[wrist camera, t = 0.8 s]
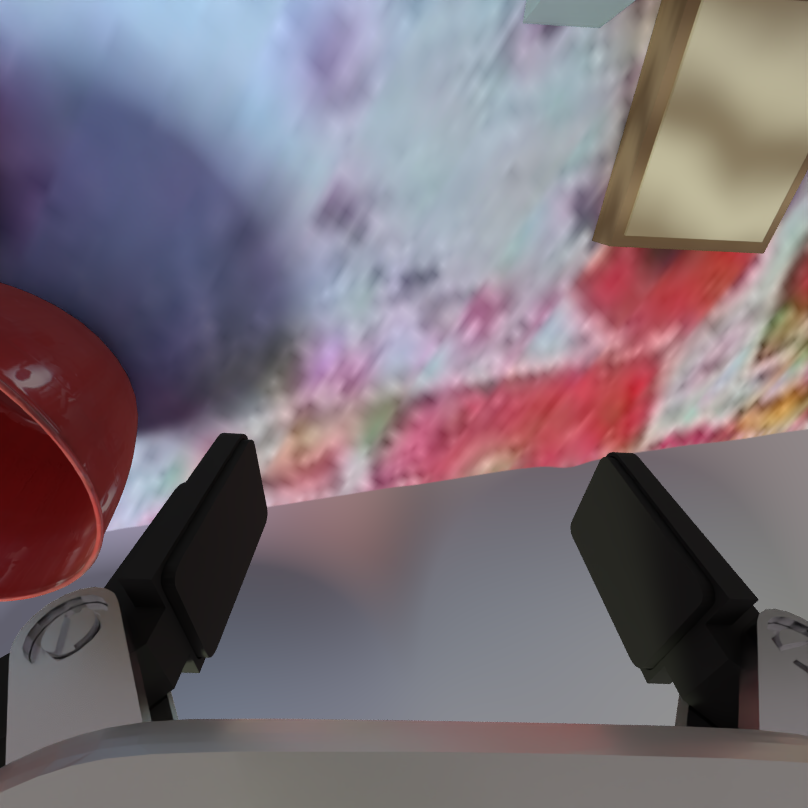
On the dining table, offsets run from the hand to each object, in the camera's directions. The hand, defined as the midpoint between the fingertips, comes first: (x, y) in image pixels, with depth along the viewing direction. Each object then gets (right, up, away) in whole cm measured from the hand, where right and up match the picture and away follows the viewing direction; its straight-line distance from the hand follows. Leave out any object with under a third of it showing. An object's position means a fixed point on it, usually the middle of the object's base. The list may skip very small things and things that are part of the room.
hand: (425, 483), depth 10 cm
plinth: (+21, +21, +17) cm, 34 cm away
